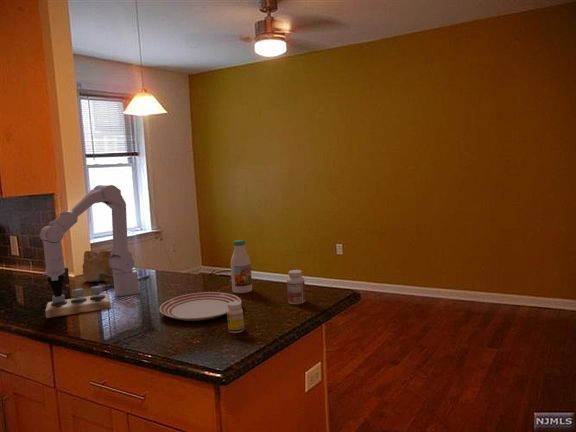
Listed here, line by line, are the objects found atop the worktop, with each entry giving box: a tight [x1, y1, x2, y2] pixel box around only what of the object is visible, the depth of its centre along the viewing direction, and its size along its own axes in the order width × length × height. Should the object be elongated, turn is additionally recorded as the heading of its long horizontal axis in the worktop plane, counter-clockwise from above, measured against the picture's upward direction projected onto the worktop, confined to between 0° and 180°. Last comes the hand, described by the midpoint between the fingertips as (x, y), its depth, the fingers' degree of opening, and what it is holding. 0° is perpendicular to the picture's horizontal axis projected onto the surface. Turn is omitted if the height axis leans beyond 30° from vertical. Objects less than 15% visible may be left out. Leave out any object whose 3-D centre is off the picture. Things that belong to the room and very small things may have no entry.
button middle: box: [71, 287, 85, 298], centre depth 173 cm, size 4×4×2 cm
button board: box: [44, 293, 112, 319], centre depth 172 cm, size 21×12×3 cm, turn 113°
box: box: [52, 266, 72, 299], centre depth 188 cm, size 6×4×12 cm
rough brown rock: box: [82, 250, 114, 285], centre depth 213 cm, size 23×17×15 cm
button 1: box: [52, 294, 66, 303], centre depth 170 cm, size 4×4×2 cm
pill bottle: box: [286, 269, 306, 305], centre depth 165 cm, size 6×6×11 cm
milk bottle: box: [230, 239, 253, 294], centre depth 183 cm, size 8×8×20 cm
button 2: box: [90, 285, 104, 295], centre depth 175 cm, size 4×4×2 cm
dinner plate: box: [159, 291, 242, 322], centre depth 161 cm, size 27×27×3 cm
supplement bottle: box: [226, 301, 245, 334], centre depth 140 cm, size 5×5×8 cm
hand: (58, 296), depth 170 cm, fingers closed, pressing on button 1
